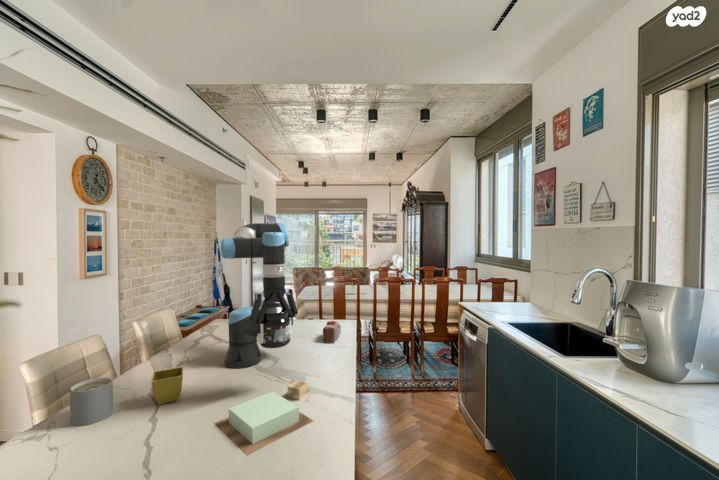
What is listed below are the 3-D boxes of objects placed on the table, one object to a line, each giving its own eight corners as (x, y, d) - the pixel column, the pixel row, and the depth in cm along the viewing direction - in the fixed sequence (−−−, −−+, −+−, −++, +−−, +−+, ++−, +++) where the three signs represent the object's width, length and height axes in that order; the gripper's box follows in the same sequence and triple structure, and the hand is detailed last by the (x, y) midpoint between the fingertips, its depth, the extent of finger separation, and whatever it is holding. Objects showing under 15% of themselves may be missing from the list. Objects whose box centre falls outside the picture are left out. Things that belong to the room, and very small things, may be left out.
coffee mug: (98, 425, 94) (97, 390, 94) (61, 427, 93) (60, 392, 93) (127, 402, 107) (126, 371, 107) (95, 403, 106) (94, 373, 106)
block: (287, 401, 106) (287, 386, 106) (297, 394, 110) (297, 380, 110) (299, 405, 103) (299, 389, 103) (309, 398, 108) (309, 383, 108)
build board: (213, 428, 91) (213, 423, 91) (276, 402, 105) (276, 397, 105) (247, 461, 77) (247, 455, 77) (313, 426, 91) (313, 420, 91)
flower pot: (151, 409, 102) (151, 381, 102) (154, 397, 110) (154, 371, 110) (183, 402, 106) (182, 375, 106) (183, 391, 114) (183, 366, 114)
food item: (327, 335, 178) (327, 317, 178) (341, 335, 177) (341, 318, 177) (321, 343, 165) (321, 324, 165) (336, 343, 164) (336, 324, 164)
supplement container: (258, 341, 116) (257, 308, 116) (287, 337, 120) (286, 305, 120) (261, 351, 106) (260, 315, 106) (293, 346, 111) (292, 311, 110)
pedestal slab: (228, 422, 91) (228, 408, 91) (272, 404, 101) (272, 391, 101) (252, 444, 81) (252, 428, 81) (298, 421, 91) (298, 407, 91)
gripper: (248, 280, 102) (249, 349, 103) (307, 273, 119) (307, 333, 119) (237, 278, 107) (238, 344, 108) (295, 272, 124) (296, 329, 124)
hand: (275, 338), depth 113 cm, fingers closed on supplement container, 10 cm apart
